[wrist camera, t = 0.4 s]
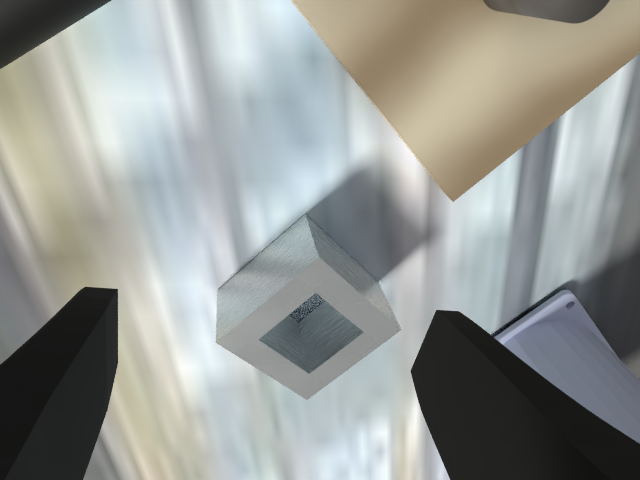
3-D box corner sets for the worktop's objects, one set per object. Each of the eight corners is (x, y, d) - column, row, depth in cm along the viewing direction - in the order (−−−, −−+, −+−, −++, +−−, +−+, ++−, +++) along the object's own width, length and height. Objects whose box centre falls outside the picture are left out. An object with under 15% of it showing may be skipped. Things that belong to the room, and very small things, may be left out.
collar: (378, 282, 23) (401, 329, 20) (297, 346, 24) (306, 399, 21) (305, 214, 20) (318, 256, 17) (217, 290, 21) (216, 342, 18)
